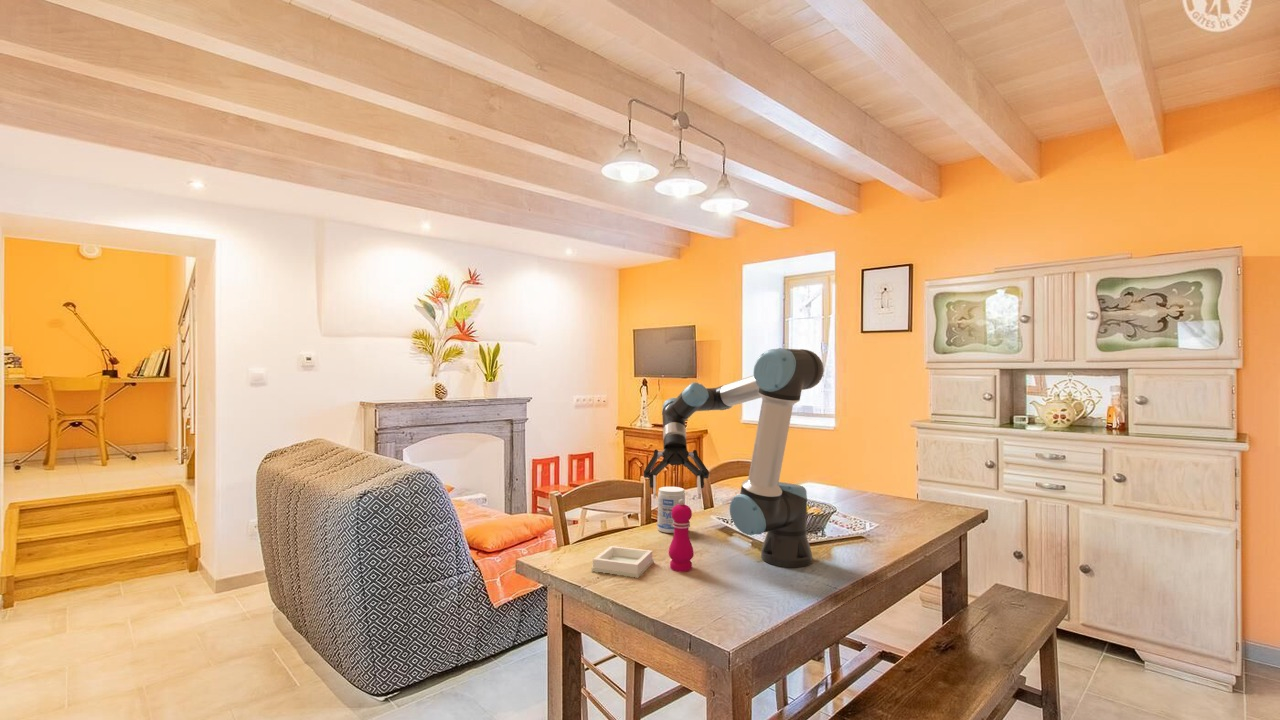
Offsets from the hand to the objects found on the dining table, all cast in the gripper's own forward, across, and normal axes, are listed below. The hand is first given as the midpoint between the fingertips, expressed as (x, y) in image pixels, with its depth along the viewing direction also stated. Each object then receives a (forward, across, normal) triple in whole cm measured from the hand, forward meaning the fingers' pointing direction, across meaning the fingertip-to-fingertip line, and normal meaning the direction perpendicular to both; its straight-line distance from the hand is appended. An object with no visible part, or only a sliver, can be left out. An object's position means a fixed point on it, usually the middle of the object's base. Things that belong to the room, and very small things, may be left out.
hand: (677, 496), depth 182 cm
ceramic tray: (+18, +16, -9) cm, 26 cm away
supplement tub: (-9, 0, -37) cm, 38 cm away
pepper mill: (+19, -1, -9) cm, 21 cm away
